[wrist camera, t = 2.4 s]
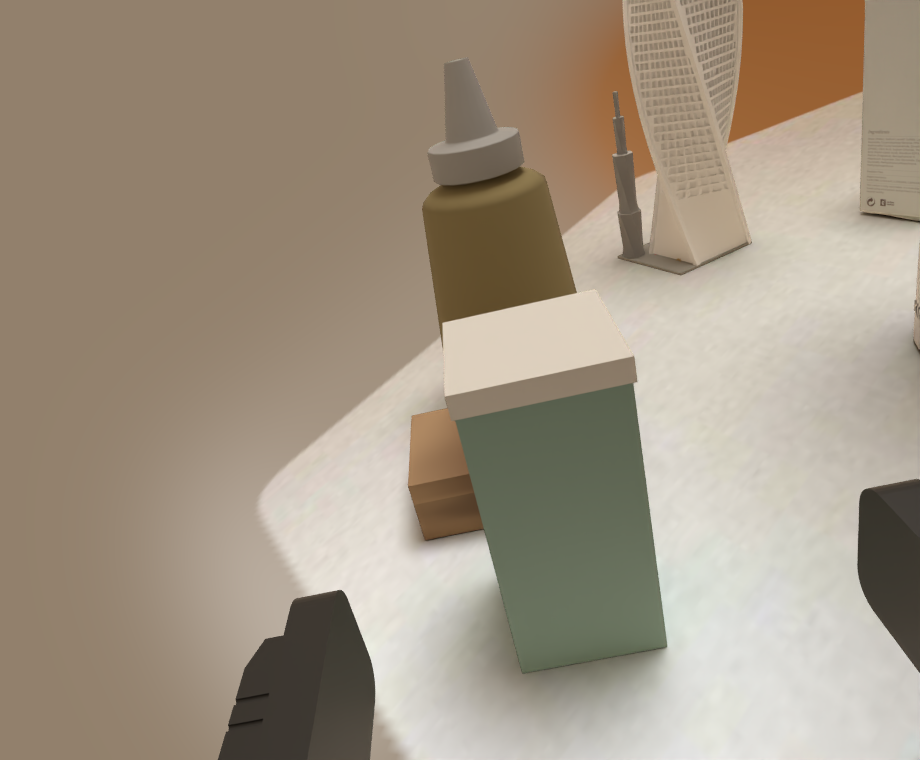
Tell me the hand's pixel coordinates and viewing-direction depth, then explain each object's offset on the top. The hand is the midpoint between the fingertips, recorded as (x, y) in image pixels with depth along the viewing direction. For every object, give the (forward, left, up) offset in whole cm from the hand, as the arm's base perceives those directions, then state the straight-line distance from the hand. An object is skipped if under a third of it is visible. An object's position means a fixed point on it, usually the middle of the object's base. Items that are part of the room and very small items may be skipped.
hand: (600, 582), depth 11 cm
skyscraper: (-15, -45, -13) cm, 49 cm away
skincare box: (-32, -44, -12) cm, 56 cm away
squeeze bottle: (0, -29, -12) cm, 31 cm away
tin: (0, -11, -12) cm, 17 cm away
